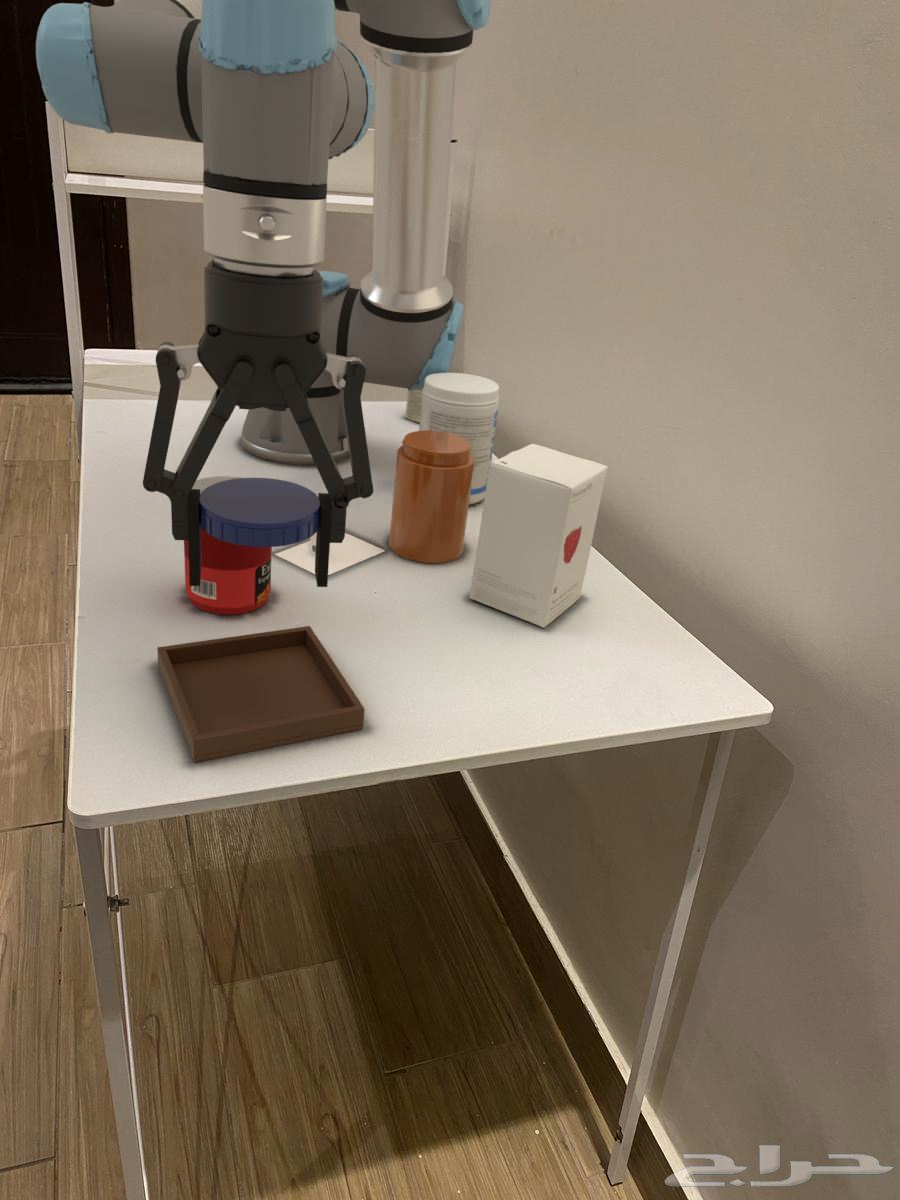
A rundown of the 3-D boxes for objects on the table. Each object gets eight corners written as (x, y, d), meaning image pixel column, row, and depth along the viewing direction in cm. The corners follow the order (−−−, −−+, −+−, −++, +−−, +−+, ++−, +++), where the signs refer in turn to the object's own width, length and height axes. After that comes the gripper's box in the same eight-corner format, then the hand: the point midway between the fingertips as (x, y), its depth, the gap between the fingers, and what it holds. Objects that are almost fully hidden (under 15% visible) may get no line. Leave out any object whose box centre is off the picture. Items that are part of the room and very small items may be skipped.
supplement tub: (500, 503, 117) (517, 391, 110) (439, 512, 112) (452, 395, 105) (459, 476, 124) (472, 369, 117) (399, 484, 119) (409, 372, 112)
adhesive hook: (304, 553, 98) (305, 526, 97) (321, 546, 100) (322, 520, 98) (324, 563, 96) (325, 536, 95) (341, 556, 98) (343, 529, 97)
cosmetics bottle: (446, 422, 145) (453, 359, 140) (427, 426, 142) (434, 362, 137) (422, 413, 148) (428, 351, 143) (403, 417, 145) (409, 354, 140)
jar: (377, 534, 104) (386, 430, 98) (442, 528, 108) (454, 427, 102) (407, 567, 98) (418, 457, 92) (475, 559, 102) (490, 452, 96)
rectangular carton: (544, 630, 89) (572, 488, 82) (467, 599, 93) (486, 461, 86) (583, 598, 96) (611, 464, 89) (509, 571, 100) (530, 440, 93)
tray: (157, 667, 76) (157, 647, 75) (308, 644, 82) (309, 625, 81) (193, 762, 66) (193, 740, 65) (363, 729, 72) (364, 708, 71)
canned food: (275, 614, 86) (277, 507, 81) (187, 618, 83) (184, 508, 78) (265, 577, 92) (267, 475, 87) (183, 579, 90) (180, 475, 85)
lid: (339, 516, 69) (341, 494, 68) (284, 558, 62) (284, 534, 61) (239, 490, 71) (239, 468, 70) (173, 528, 64) (173, 505, 63)
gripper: (77, 258, 52) (103, 601, 63) (438, 288, 57) (406, 602, 68) (95, 239, 59) (115, 554, 69) (418, 268, 64) (391, 558, 74)
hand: (259, 577), depth 69 cm, fingers closed on lid, 9 cm apart
